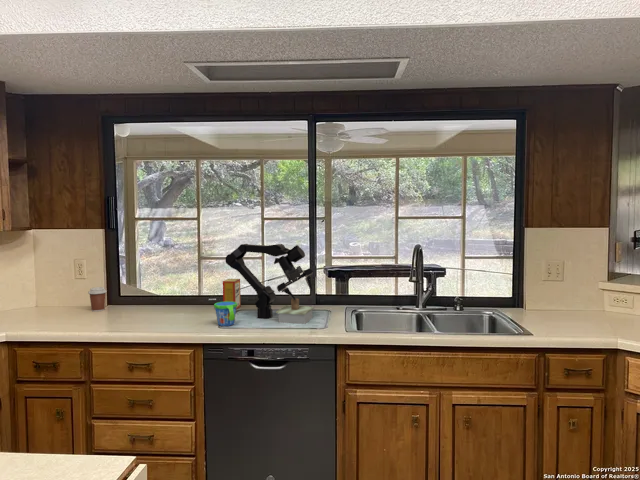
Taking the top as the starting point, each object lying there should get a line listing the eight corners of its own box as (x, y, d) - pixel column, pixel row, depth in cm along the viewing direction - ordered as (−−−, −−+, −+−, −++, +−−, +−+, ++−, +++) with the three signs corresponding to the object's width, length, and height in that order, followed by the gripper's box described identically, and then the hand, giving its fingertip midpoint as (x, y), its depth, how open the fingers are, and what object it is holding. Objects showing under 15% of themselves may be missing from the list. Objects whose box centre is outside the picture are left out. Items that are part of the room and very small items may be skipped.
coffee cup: (95, 308, 258) (94, 286, 258) (110, 308, 257) (110, 286, 256) (85, 311, 249) (84, 289, 249) (100, 312, 248) (100, 289, 247)
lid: (275, 313, 221) (275, 301, 221) (286, 306, 235) (286, 295, 235) (305, 314, 217) (304, 302, 217) (313, 308, 231) (313, 296, 231)
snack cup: (211, 322, 225) (210, 301, 224) (232, 319, 229) (232, 299, 229) (219, 329, 211) (218, 307, 210) (241, 327, 215) (241, 305, 215)
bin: (278, 323, 221) (278, 313, 221) (287, 317, 234) (287, 307, 234) (305, 325, 218) (304, 314, 218) (312, 318, 231) (312, 308, 230)
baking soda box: (234, 310, 251) (234, 280, 250) (223, 309, 252) (222, 280, 251) (240, 306, 260) (240, 278, 259) (229, 306, 261) (228, 277, 260)
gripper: (271, 274, 216) (288, 303, 214) (306, 255, 221) (323, 284, 219) (270, 277, 227) (286, 305, 225) (303, 259, 232) (319, 286, 230)
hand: (303, 295), depth 225 cm, fingers open, 9 cm apart
